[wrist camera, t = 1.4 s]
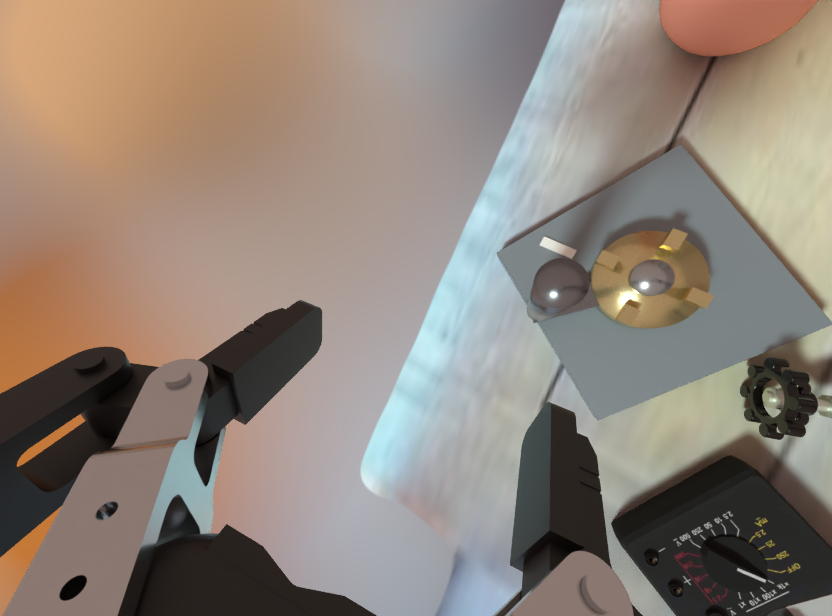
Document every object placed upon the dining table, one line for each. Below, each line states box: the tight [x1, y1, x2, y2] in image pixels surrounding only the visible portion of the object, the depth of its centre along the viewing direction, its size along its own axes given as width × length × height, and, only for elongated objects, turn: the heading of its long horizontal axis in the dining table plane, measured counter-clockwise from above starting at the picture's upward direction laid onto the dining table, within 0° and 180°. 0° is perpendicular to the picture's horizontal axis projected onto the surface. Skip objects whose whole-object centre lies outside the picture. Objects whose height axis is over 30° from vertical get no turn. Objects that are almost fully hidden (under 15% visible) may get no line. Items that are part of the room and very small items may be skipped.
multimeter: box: [611, 456, 832, 616], centre depth 25 cm, size 13×19×5 cm
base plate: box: [497, 144, 832, 420], centre depth 31 cm, size 20×20×2 cm
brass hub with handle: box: [527, 228, 714, 329], centre depth 22 cm, size 15×9×18 cm, turn 105°
